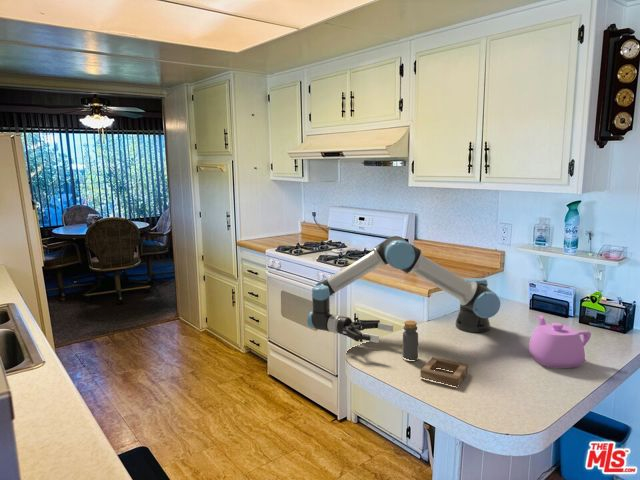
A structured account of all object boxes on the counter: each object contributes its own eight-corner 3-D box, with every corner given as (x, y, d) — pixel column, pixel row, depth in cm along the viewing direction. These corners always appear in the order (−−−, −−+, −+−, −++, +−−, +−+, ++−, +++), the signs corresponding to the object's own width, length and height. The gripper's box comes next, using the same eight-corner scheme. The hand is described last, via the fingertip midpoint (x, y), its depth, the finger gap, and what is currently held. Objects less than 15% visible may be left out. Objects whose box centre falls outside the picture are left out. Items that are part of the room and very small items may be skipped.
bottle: (403, 355, 178) (403, 319, 176) (418, 356, 176) (418, 320, 174) (401, 361, 173) (401, 324, 170) (417, 362, 171) (417, 325, 169)
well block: (432, 365, 168) (432, 356, 168) (467, 373, 161) (467, 364, 161) (420, 379, 158) (420, 370, 157) (457, 388, 150) (457, 378, 150)
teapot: (601, 370, 160) (604, 331, 158) (543, 372, 161) (545, 332, 158) (567, 345, 183) (569, 310, 180) (516, 347, 183) (517, 312, 181)
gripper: (354, 324, 201) (398, 332, 190) (325, 343, 181) (372, 353, 169) (354, 308, 200) (398, 315, 189) (324, 325, 179) (371, 335, 168)
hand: (385, 333), depth 179 cm, fingers open, 13 cm apart
